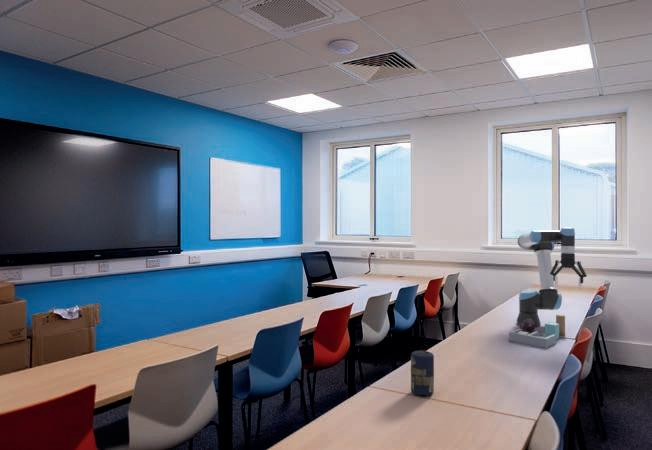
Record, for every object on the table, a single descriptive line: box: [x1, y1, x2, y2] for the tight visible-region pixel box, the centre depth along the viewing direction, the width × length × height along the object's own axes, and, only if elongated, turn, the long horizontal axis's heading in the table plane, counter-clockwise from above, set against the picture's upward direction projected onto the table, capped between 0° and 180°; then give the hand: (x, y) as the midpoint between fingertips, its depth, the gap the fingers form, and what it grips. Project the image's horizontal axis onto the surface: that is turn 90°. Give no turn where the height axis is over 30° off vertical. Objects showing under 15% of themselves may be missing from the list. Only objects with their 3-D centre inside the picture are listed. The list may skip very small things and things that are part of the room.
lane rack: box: [508, 328, 557, 349], centre depth 269 cm, size 14×22×5 cm, turn 43°
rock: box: [519, 319, 536, 334], centre depth 290 cm, size 12×9×10 cm
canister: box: [410, 350, 435, 396], centre depth 190 cm, size 10×10×18 cm
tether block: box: [544, 314, 566, 341], centre depth 281 cm, size 19×6×12 cm, turn 133°
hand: (568, 287), depth 278 cm, fingers open, 13 cm apart
